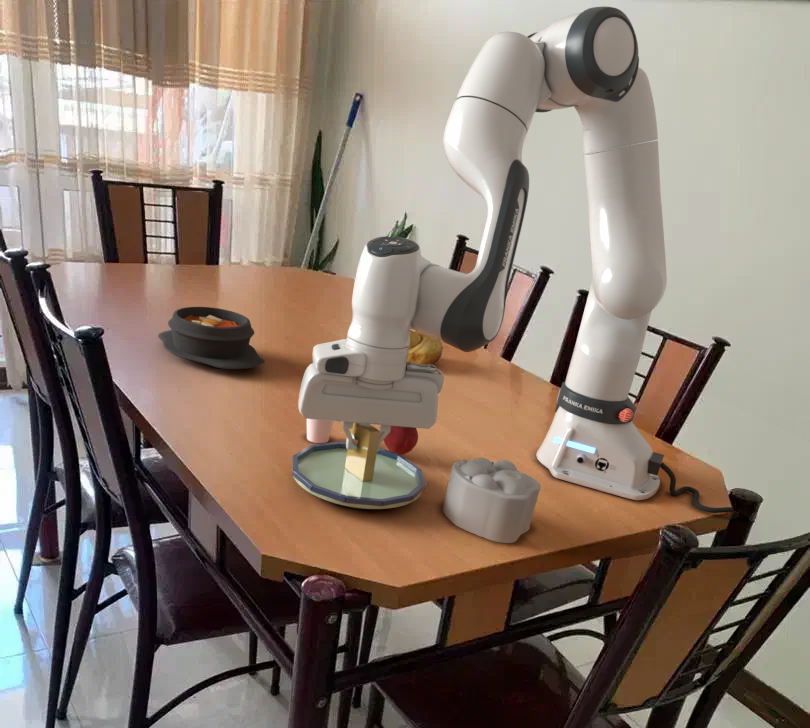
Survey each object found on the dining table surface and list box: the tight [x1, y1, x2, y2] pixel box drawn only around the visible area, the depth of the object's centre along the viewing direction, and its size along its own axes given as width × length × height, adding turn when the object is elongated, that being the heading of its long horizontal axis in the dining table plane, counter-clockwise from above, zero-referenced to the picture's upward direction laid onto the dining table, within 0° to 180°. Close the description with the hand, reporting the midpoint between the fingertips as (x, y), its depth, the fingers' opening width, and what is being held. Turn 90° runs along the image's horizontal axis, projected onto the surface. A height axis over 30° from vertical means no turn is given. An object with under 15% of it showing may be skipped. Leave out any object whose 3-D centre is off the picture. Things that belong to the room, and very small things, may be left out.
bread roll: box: [407, 329, 444, 365], centre depth 185 cm, size 13×10×8 cm
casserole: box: [157, 306, 265, 370], centre depth 163 cm, size 25×19×8 cm
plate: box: [291, 422, 427, 510], centre depth 120 cm, size 20×20×9 cm
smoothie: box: [306, 419, 335, 444], centre depth 134 cm, size 6×6×14 cm
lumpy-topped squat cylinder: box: [442, 457, 541, 544], centre depth 119 cm, size 10×13×9 cm
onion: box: [383, 426, 419, 456], centre depth 135 cm, size 6×6×8 cm
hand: (362, 449), depth 120 cm, fingers closed on plate, 2 cm apart
